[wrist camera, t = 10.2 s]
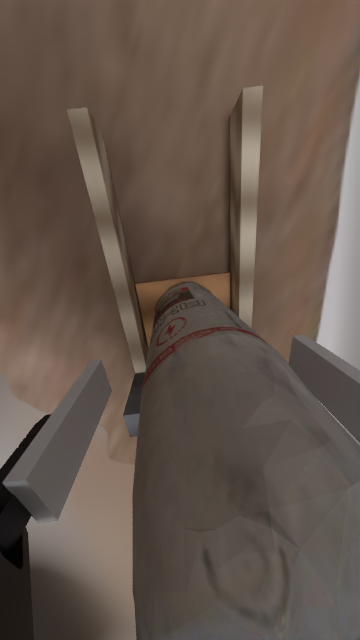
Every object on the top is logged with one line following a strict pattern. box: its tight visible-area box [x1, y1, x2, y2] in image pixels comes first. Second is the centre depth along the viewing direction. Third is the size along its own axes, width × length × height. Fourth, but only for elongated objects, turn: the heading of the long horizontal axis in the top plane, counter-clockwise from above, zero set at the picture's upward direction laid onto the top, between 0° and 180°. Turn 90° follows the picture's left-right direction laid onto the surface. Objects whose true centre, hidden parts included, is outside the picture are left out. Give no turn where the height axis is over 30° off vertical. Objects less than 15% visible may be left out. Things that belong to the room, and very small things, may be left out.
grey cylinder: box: [133, 281, 360, 640], centre depth 12 cm, size 8×8×20 cm
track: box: [67, 86, 263, 437], centre depth 16 cm, size 27×14×9 cm, turn 6°
